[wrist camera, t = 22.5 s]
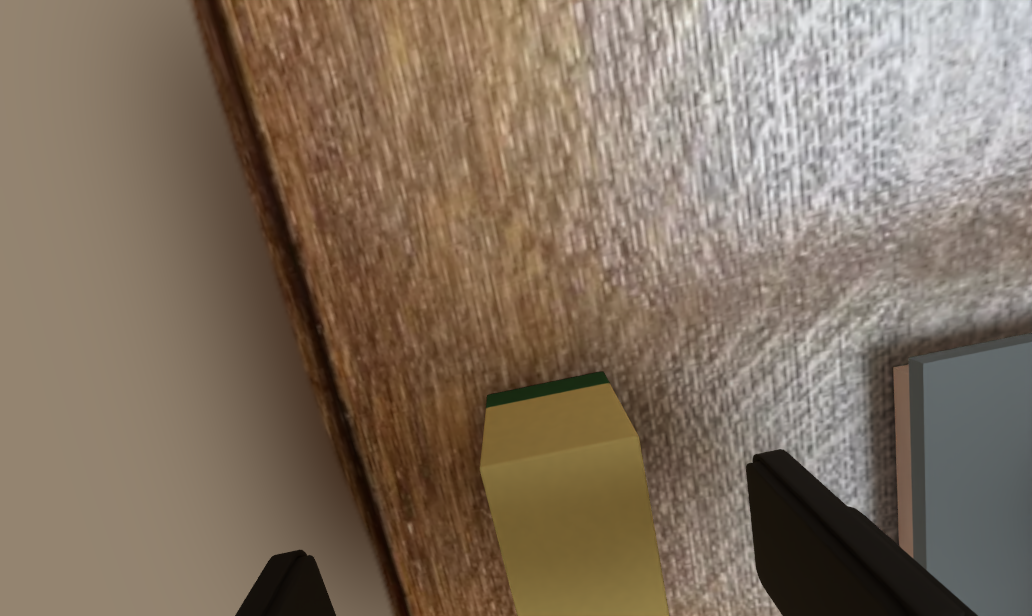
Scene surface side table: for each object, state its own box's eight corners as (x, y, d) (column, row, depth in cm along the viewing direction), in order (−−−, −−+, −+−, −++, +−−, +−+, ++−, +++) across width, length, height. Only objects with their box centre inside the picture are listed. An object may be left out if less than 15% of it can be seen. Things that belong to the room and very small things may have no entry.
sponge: (486, 394, 16) (478, 468, 12) (603, 370, 16) (639, 436, 12) (523, 544, 17) (528, 660, 13) (631, 523, 17) (672, 633, 13)
